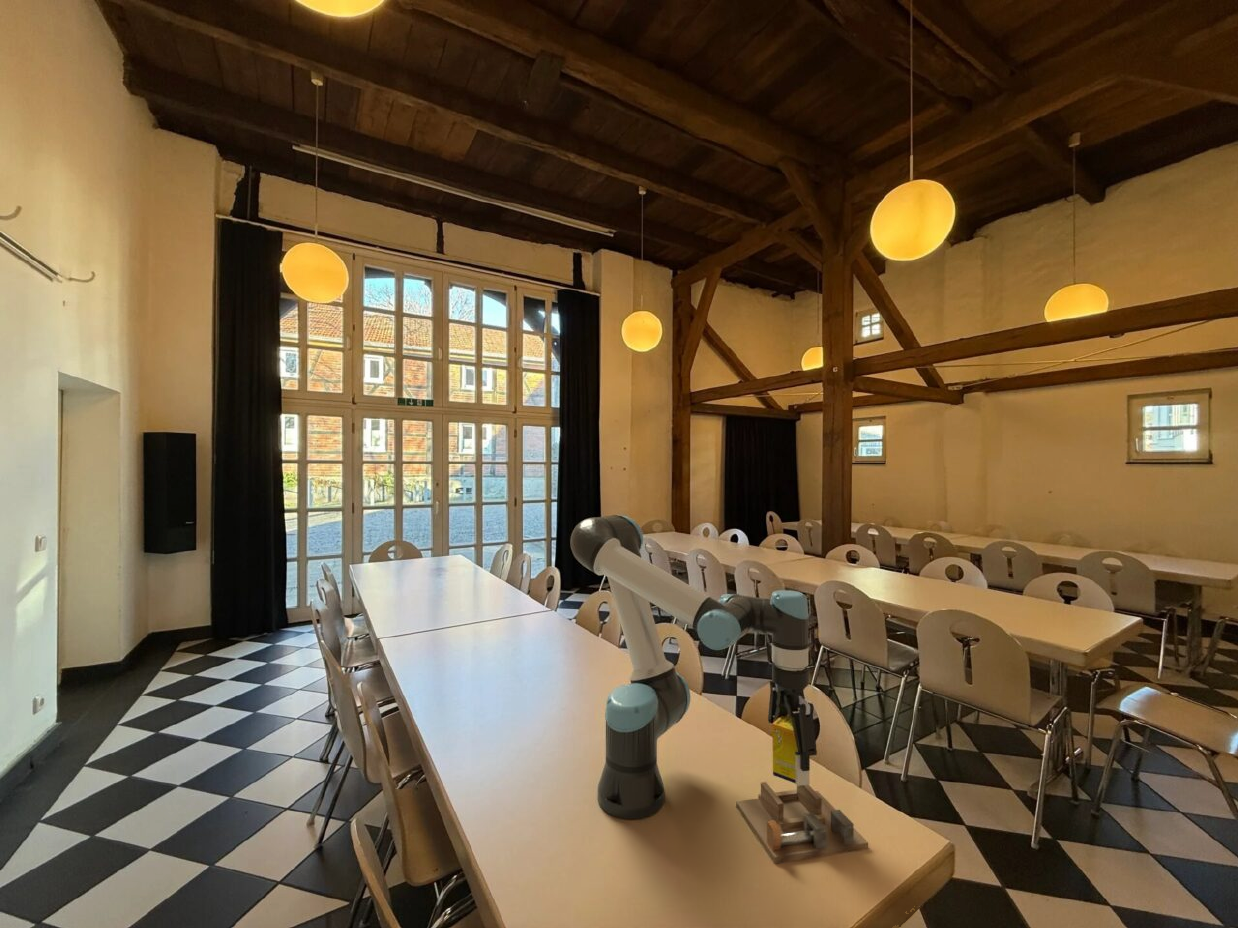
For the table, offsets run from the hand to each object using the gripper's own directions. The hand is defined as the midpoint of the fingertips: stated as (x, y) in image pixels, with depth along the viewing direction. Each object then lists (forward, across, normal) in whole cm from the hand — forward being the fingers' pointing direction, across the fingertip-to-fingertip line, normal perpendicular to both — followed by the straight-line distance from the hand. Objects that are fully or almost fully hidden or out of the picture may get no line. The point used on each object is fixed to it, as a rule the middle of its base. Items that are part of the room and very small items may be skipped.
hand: (791, 771), depth 110 cm
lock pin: (+8, -9, +4) cm, 13 cm away
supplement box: (+1, 0, 0) cm, 1 cm away
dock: (+10, -3, 0) cm, 10 cm away
